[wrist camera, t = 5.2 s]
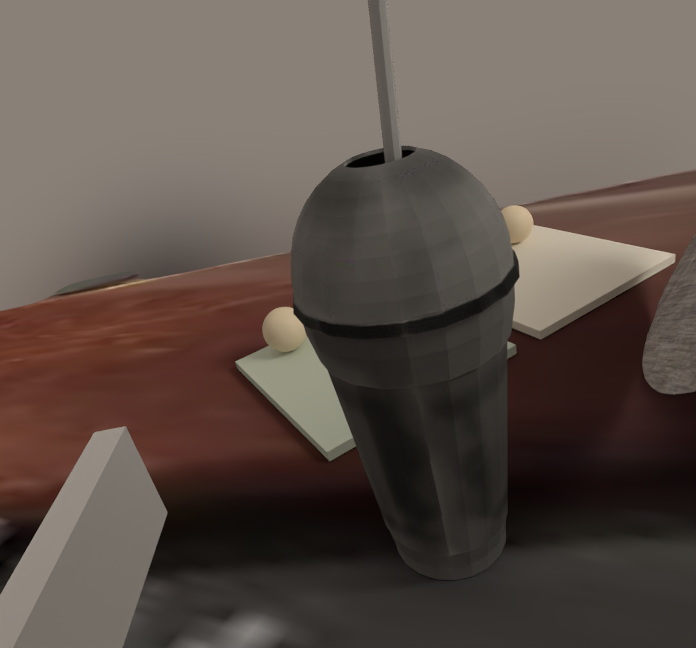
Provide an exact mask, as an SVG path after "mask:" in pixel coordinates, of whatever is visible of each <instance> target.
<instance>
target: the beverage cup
mask: <svg viewBox="0 0 696 648" xmlns="http://www.w3.org/2000/svg"><path fill="white" fill-rule="evenodd" d="M368 6H369V15H370V25H371V34H372V44H373V53H374V62H375V72H376V81H377V91H378V100H379V109H380V119H381V129H382V138H383V146H384V147H383V148H382V149H377V150H373V151H369V152H366V153H362V154H360V155H357V156H354V157H352V158H350V159H348V160H347V161H345V162H344V163H342V164H341V165H339V166H338V167H336V168H335V169H333V170H332V171H331V172H330V173H329V174H328V175H327V176H326V177H325V178H324V179H323V180H322V181H321V183H320V184H319V185H318V186H317V187H316V188H315V189H314V191H313V193H312V194H311V195H310V197H309V198H308V200H307V201H306V203H305V205H304V207H303V209H302V211H301V213H300V216H299V218H298V220H297V224H296V227H295V231H294V235H293V242H292V250H291V278H292V287H293V314H294V315H295V316H296V317H297V318H298V319H299V321H300V322H301V323H302V324H303V326H304V329H305V332H306V335H307V337H308V339H309V341H310V343H311V345H312V346H313V348H314V350H315V352H316V354H317V356H318V358H319V360H320V362H321V363H322V364H323V365H324V366H325V368H326V369H327V370H328V373H329V376H330V378H331V381H332V384H333V386H334V389H335V391H336V394H337V397H338V399H339V402H340V405H341V407H342V410H343V413H344V415H345V418H346V421H347V423H348V426H349V429H350V431H351V434H352V436H353V439H354V442H355V444H356V447H357V450H358V452H359V455H360V458H361V460H362V463H363V466H364V468H365V471H366V474H367V476H368V479H369V482H370V484H371V487H372V489H373V492H374V495H375V497H376V500H377V503H378V505H379V508H380V511H381V513H382V516H383V519H384V521H385V524H386V526H387V528H388V529H389V531H390V532H391V535H392V537H393V539H394V541H395V542H396V546H397V550H398V553H399V554H400V556H401V557H402V559H403V560H404V562H405V563H406V564H407V565H408V566H409V567H411V568H412V569H413V570H415V571H416V572H418V573H419V574H422V575H424V576H427V577H430V578H433V579H437V580H459V579H463V578H468V577H472V576H475V575H476V574H478V573H480V572H482V571H484V570H486V569H487V568H489V567H490V566H491V565H492V564H493V563H494V562H495V561H496V560H497V558H498V557H499V556H500V555H501V552H502V550H503V547H504V545H505V543H506V516H507V514H508V438H507V339H508V338H509V336H510V334H511V330H512V322H513V314H514V306H515V288H514V285H515V283H516V282H517V280H518V279H519V277H520V274H519V261H518V258H517V256H516V253H515V251H514V250H513V249H512V246H511V240H510V234H509V231H508V228H507V225H506V222H505V219H504V216H503V214H502V212H501V210H500V209H499V207H498V205H497V203H496V201H495V199H494V198H493V197H492V196H491V194H490V193H489V192H488V190H487V189H486V188H485V186H484V185H483V184H482V183H481V182H480V181H479V180H478V179H476V178H475V177H474V176H473V175H472V174H471V173H470V172H469V171H468V170H466V169H465V168H464V167H462V166H461V165H459V164H458V163H456V162H454V161H453V160H451V159H450V158H448V157H447V156H444V155H442V154H439V153H437V152H434V151H432V150H427V149H422V148H417V147H411V146H401V141H400V130H399V120H398V110H397V100H396V90H395V80H394V70H393V61H392V50H391V40H390V29H389V19H388V9H387V0H368Z"/></svg>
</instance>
